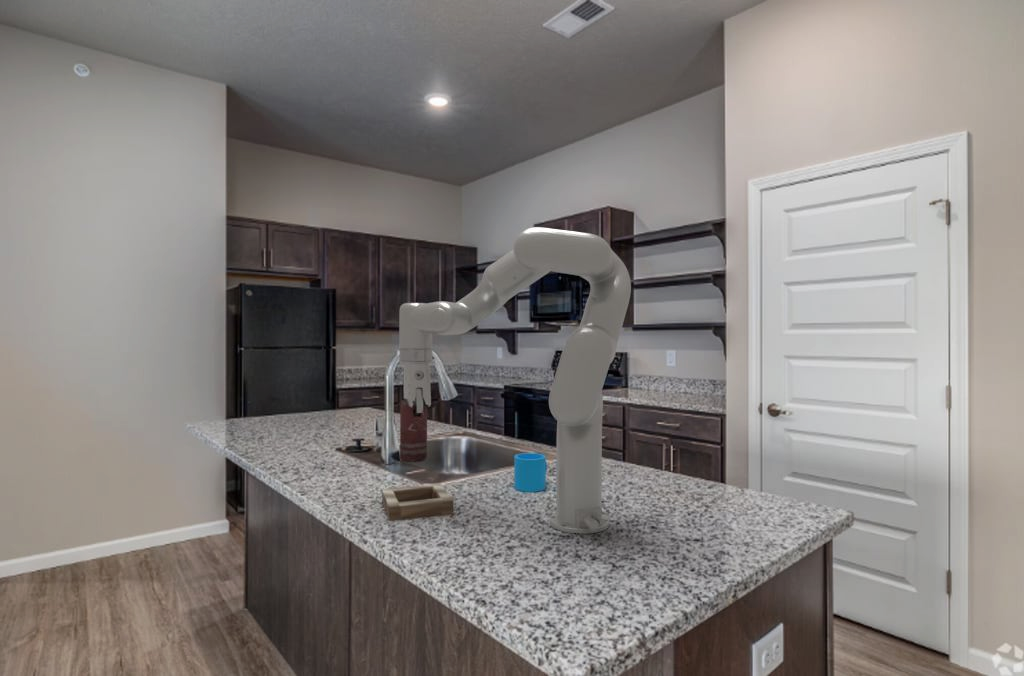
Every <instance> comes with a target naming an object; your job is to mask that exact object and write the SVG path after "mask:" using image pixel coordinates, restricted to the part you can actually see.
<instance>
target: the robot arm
mask: <svg viewBox="0 0 1024 676" xmlns="http://www.w3.org/2000/svg"><path fill="white" fill-rule="evenodd" d="M550 272H552V273H553V272H554V273H560V274H567V275H573V276H579V277H580V278H582V279H584V280H586V281H587V282H588V283H589V285H590V288H589V289H590V290H589V295H588V298H587V300H586V304H585V306H584V309H583V315H582V316H581V317H582V318H581V321H580V324H579V326H578V328H576V329H575V330H573V331H572V332H571V333H570V335H568V337H567V338H566V340H565V343H564V345H563V349H562V352H561V355H560V358H559V362H558V364H557V365H558V366H557V368H556V371H555V375H554V378H553V380H552V384H551V388H550V391H549V396H548V406H549V407H548V408H549V410H550V413H551V415H552V416H553V418H554V419H555V420H556V421H557V422H556V423H557V424H556V512H554V513H552V514H551V515H550V516H549V518H548V519H549V521H548V522H549V525H550V527H552V528H554V529H556V530H558V531H560V532H563V533H567V532H568V534H574V533H576V534H577V533H579V534H577V535H588V534H590V533H591V534H597V533H600V532H603V531H606V530H607V529H608V528H609V527H610V519H609V517H608V516H607V515H605V514H603V513H602V512H603V507H602V505H603V504H602V503H603V499H602V498H603V497H602V496H603V494H602V493H603V491H602V490H603V488H602V487H603V485H602V482H603V481H602V479H603V478H602V477H603V475H602V473H603V472H602V471H603V470H602V468H603V466H602V464H603V461H602V457H603V456H602V453H603V450H602V449H603V448H602V446H603V445H602V444H603V440H602V439H603V436H602V435H603V415H604V414H603V413H604V412H603V411H604V398H603V393H602V391H603V387H604V385H605V381H606V379H607V378H606V377H607V375H608V371H609V368H610V365H611V364H612V362H613V360H614V359H615V357H616V353H617V346H618V341H619V339H620V335H621V332H622V329H623V325H624V321H625V317H626V314H627V310H628V307H629V303H630V298H631V292H632V283H631V282H632V281H631V277H630V273H629V270H628V269H627V267H626V265H625V263H624V262H623V260H622V259H621V258H620V257H619V256H618V255H617V253H615V251H614V250H612V247H611V245H609V242H607V241H606V240H605V239H604V238H603V237H602V236H599V235H597V234H593V233H589V232H582V231H581V232H580V231H575V230H574V231H573V230H565V229H557V228H550V227H543V226H533V227H528V228H526V229H524V230H523V231H521V232H520V233H519V234H518V235H517V236H516V238H515V240H514V244H513V249H511V250H510V251H509V252H507V253H506V254H504V255H503V256H502V257H500V258H499V259H497V260H496V261H494V262H492V263H491V264H490V265H488V266H487V267H486V268H485V270H484V272H483V274H482V278H481V281H480V282H479V284H478V285H477V286H476V287H475V288H474V289H473V290H472V291H471V292H469V293H468V294H466V295H465V296H464V297H462V298H461V299H459V300H458V301H456V302H452V301H444V300H443V301H442V300H441V301H440V300H439V301H433V302H428V303H425V302H405V303H402V304H401V305H400V307H399V315H398V316H399V317H398V318H399V319H398V320H399V321H398V322H399V324H398V325H399V326H398V327H399V328H398V329H399V330H398V331H399V334H398V335H399V338H398V341H399V344H398V345H399V347H398V348H399V350H398V353H399V355H398V362H399V363H398V364H403V399H405V401H407V403H408V406H409V407H411V408H412V406H413V405H414V404H416V409H414V411H413V413H414V417H415V416H418V417H421V414H422V410H423V400H425V403H424V404H426V405H427V408H429V407H430V406H431V405H432V396H431V395H432V394H431V393H432V392H431V390H432V389H431V372H430V364H433V337H434V336H433V335H439V336H459V335H463V334H465V333H467V332H469V331H470V330H472V329H474V328H476V327H477V326H478V325H479V324H481V323H482V322H484V321H486V320H487V319H489V317H491V316H493V314H494V313H495V312H497V311H498V310H499V309H500V308H502V307H503V306H504V305H505V304H506V303H507V302H508V301H509V300H510V299H512V298H513V297H515V296H516V295H517V294H518V293H519V294H520V292H522V291H524V290H526V289H527V288H528V287H529V286H531V285H532V284H534V283H536V282H537V281H539V280H540V279H541V278H543V277H544V276H546V275H547V274H549V273H550ZM413 401H414V404H413ZM417 414H419V415H417ZM576 534H575V535H576Z"/></svg>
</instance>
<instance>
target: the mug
mask: <svg viewBox="0 0 1024 676" xmlns="http://www.w3.org/2000/svg"><path fill="white" fill-rule="evenodd" d="M546 457H547V456H546V455H545V454H541V453H536V452H524V453H518V454H517V453H516V454H515V455H514V457H513V458H514V459H513V461H514V469H513V470H514V472H513V473H514V477H513V478H514V479H513V481H514V486H513V487H514V489H515V490H517V491H518V492H519V491H520V492H525V493H526V492H527V493H528V492H529V493H535V492H541V491H545V489H546V484H547V483H546V482H547V481H546V475H547V469H548V465H547V463H548V462H547V461H546Z"/></svg>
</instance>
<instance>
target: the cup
mask: <svg viewBox="0 0 1024 676" xmlns="http://www.w3.org/2000/svg"><path fill="white" fill-rule="evenodd" d="M424 403H425V400H423V410H422V414H421V417H418V416H415V417H414V413H413V411H414V409H416V404H414V401H413V404H414V405H413V406H412V408H411V407H409V406H408V403H407V401H405V399H404V398H403V399H401V402H400V404H399V405H400V408H399V409H400V410H399V411H400V412H399V413H400V416H399V417H400V420H399V423H400V424H399V425H400V426H399V428H400V429H399V432H400V433H399V437H400V438H399V441H400V442H399V444H400V445H399V447H400V448H399V450H400V451H399V458H400V460H401V461H402V462H404V463H420V462H425V461H426V459H427V458H428V407H427V405H426V404H424ZM417 415H419V414H417Z"/></svg>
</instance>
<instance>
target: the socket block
mask: <svg viewBox="0 0 1024 676" xmlns="http://www.w3.org/2000/svg"><path fill="white" fill-rule="evenodd" d="M381 494H382V495H381V497H382V498H381V499H382V500H381V502H382V506H383V508H384V511H385V514H386V517H387V519H388V521H391V522H393V521H402V520H411V519H422V518H430V517H441V516H450V515H452V516H453V515H454V498H453V497H452V496H451V495H450V494H449V493H448V491H447V490H446V489H445V488H444V486H443V485H442V484H441V483H433V484H424V485H413V486H402V487H391V488H382V489H381Z"/></svg>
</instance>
